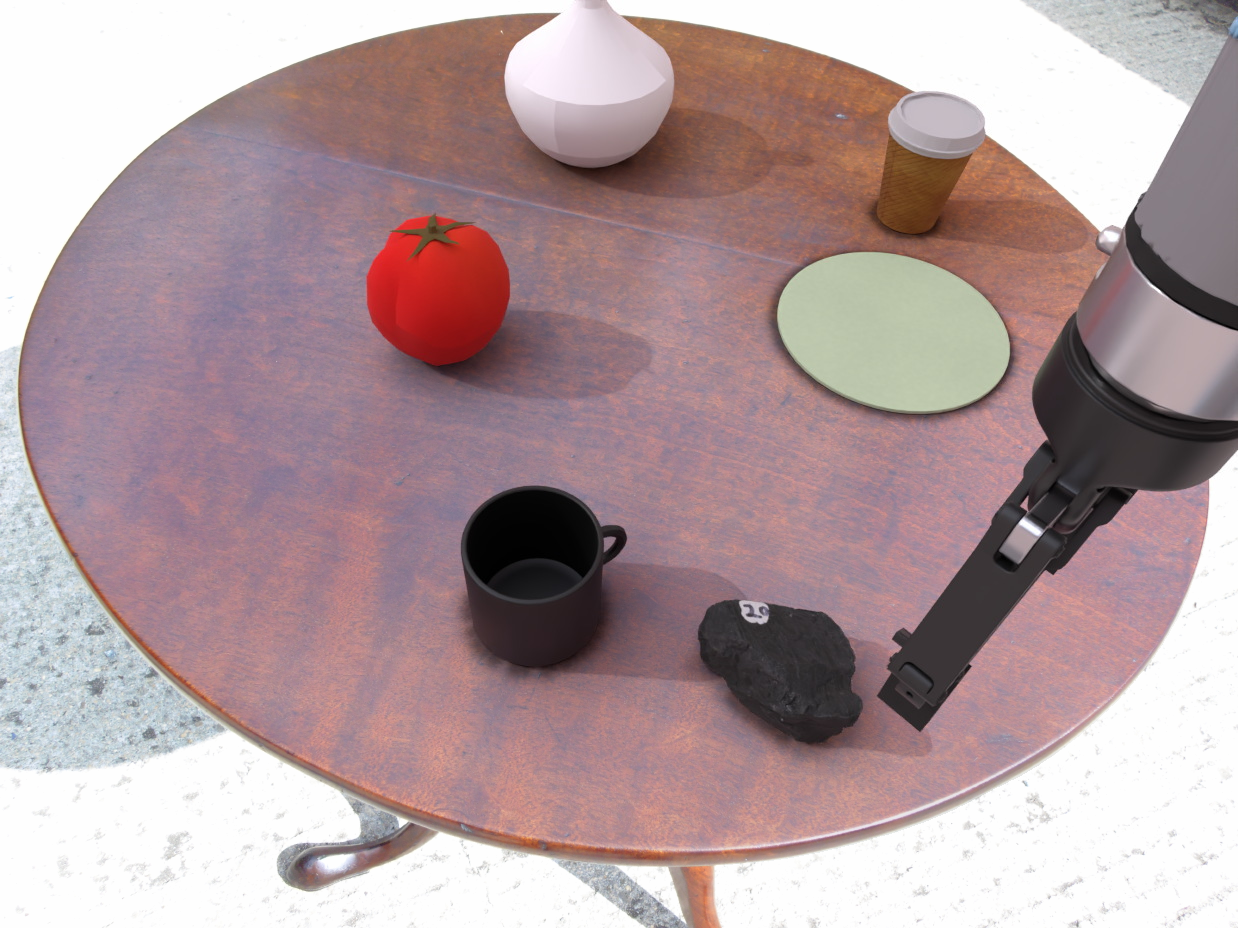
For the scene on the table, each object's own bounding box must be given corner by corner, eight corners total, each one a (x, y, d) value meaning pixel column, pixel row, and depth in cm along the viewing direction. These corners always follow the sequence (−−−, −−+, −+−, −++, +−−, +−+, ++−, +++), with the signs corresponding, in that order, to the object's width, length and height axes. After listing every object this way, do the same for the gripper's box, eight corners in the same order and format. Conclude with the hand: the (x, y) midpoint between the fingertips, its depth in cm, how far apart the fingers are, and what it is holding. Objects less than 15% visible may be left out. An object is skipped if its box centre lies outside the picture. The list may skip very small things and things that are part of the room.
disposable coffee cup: (944, 194, 102) (982, 93, 93) (955, 248, 96) (997, 145, 87) (858, 186, 102) (887, 84, 93) (864, 239, 96) (896, 136, 87)
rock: (694, 623, 67) (703, 582, 63) (833, 630, 67) (853, 589, 63) (697, 742, 62) (707, 707, 57) (848, 749, 62) (871, 714, 57)
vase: (654, 98, 112) (667, -71, 97) (681, 187, 101) (700, 12, 86) (503, 103, 110) (493, -69, 95) (513, 195, 99) (503, 16, 84)
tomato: (367, 319, 86) (339, 200, 75) (494, 292, 89) (484, 173, 79) (394, 407, 79) (368, 289, 69) (531, 374, 82) (525, 256, 72)
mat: (1057, 354, 87) (1059, 351, 86) (890, 450, 78) (892, 447, 78) (892, 230, 98) (893, 227, 97) (730, 302, 89) (731, 299, 89)
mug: (654, 620, 67) (664, 552, 60) (503, 690, 63) (495, 627, 56) (594, 525, 72) (597, 453, 65) (451, 585, 68) (438, 515, 61)
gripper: (1214, 176, 41) (1028, 467, 58) (892, 475, 30) (776, 731, 46) (1391, 258, 38) (1140, 541, 55) (1106, 627, 27) (899, 842, 43)
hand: (972, 628), depth 51 cm, fingers open, 13 cm apart
